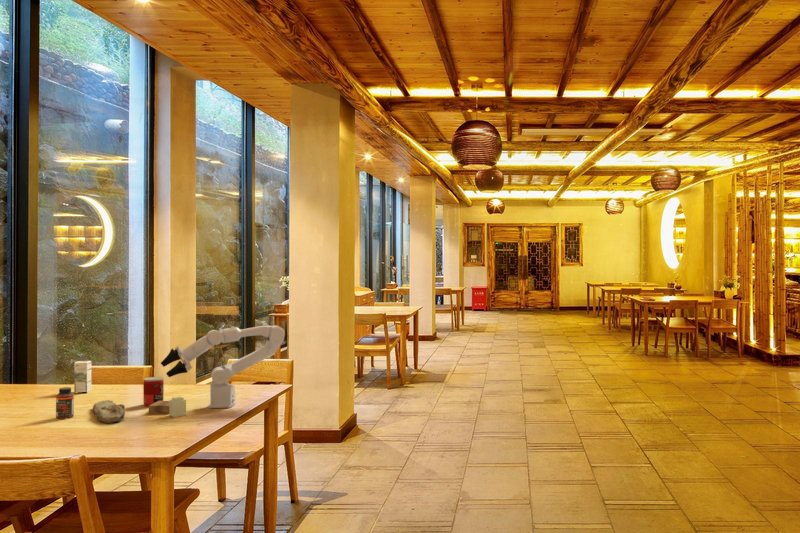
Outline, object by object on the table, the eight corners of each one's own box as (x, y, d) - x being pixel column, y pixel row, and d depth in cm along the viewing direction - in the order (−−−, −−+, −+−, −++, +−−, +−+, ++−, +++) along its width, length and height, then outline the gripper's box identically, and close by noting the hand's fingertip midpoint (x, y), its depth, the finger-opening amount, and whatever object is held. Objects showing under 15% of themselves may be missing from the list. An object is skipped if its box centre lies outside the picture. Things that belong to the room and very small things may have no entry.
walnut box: (180, 409, 240) (180, 400, 240) (171, 414, 231) (171, 405, 231) (158, 409, 240) (158, 400, 240) (148, 414, 231) (148, 405, 231)
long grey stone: (116, 408, 247) (89, 413, 242) (115, 396, 248) (88, 400, 242) (129, 421, 218) (99, 426, 213) (128, 406, 218) (98, 411, 213)
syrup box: (91, 390, 278) (91, 360, 278) (86, 393, 272) (87, 361, 273) (79, 391, 277) (79, 360, 278) (73, 393, 272) (73, 362, 272)
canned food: (156, 406, 243) (156, 380, 243) (139, 406, 245) (139, 379, 245) (167, 403, 251) (167, 377, 251) (150, 402, 252) (150, 376, 252)
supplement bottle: (55, 420, 221) (55, 390, 222) (56, 417, 227) (56, 387, 227) (73, 418, 224) (73, 388, 224) (73, 415, 229) (74, 386, 230)
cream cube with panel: (181, 413, 232) (181, 396, 232) (186, 415, 228) (186, 397, 228) (169, 415, 228) (169, 397, 228) (174, 417, 225) (174, 399, 225)
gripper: (184, 334, 243) (154, 354, 239) (196, 353, 233) (165, 374, 229) (192, 345, 248) (163, 364, 244) (204, 364, 238) (174, 384, 234)
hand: (164, 370), depth 237 cm, fingers open, 7 cm apart
